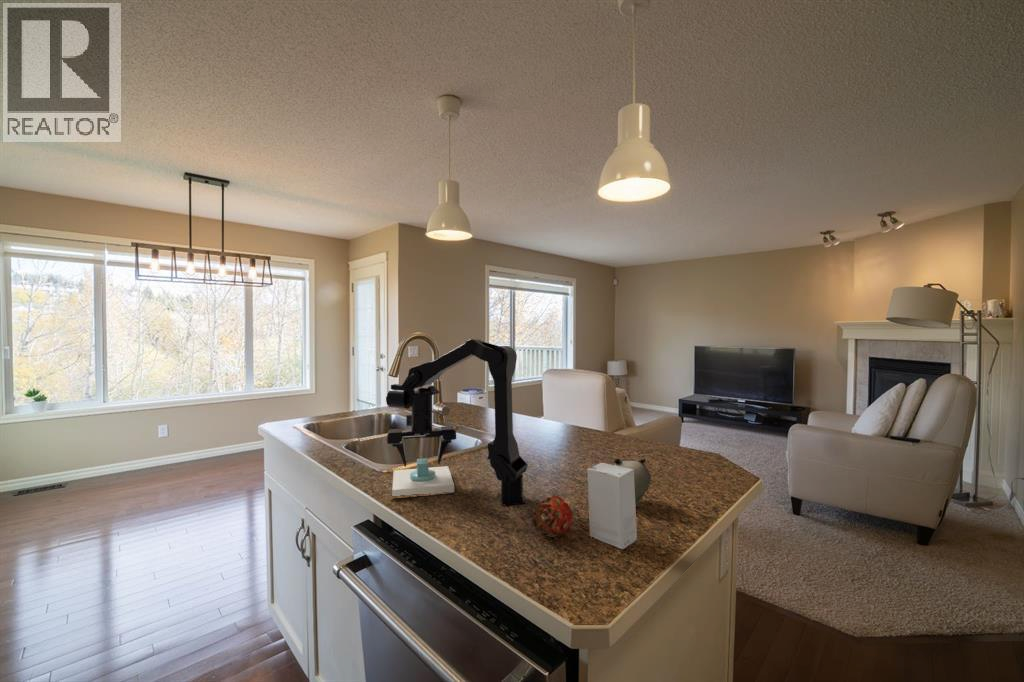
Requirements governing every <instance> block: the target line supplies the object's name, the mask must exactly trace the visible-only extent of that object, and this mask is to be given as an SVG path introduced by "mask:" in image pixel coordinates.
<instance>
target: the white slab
mask: <svg viewBox="0 0 1024 682" xmlns="http://www.w3.org/2000/svg"><path fill="white" fill-rule="evenodd" d="M428 468H429V470H433V471H435V478H433V479H432V480H428V481H413V480H411V479H410V473H411V472H413V471H416V470H417V468H409V469H408V468H406V469H396V470H393V475H392V476H393V477H392V490H391V493H392V494H391V497H392V496H400V495H412V494H429V493H442V492H454V493H455V483H454V480H453V477H452V474H451V471H450V468H449V466H448V465H447V466H435V467H428Z"/></svg>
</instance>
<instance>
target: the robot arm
mask: <svg viewBox="0 0 1024 682" xmlns="http://www.w3.org/2000/svg"><path fill="white" fill-rule="evenodd" d="M474 356H475V357H476V358H478V359H480V360H482V361H484V362H487V365H488V369H489V370H488V371H489V373H490V375H491V378H492V379H493V388H494V389H493V390H494V391H493V393H494V398H493V400H494V430H495V431H494V433H495V434H494V439H493V440H492V441H490V442H489V443H487V451H488V453H487V455H488V456H487V460H488V461H489V464H490V467H491V468H492V469H493V470H494V472H495V475H496V479H497V481H500V493H497V495H496V496H497V498H498V497H499V498H498V499H500V500H499V502H500V501H501V502H500V503H501V505H502V504H511V505H515V504H514V503H520V504H524V503H523V502H527V503H528V500H527V498H526V497H525V496H524V475H523V474H524V473H526V472H527V470H528V467H529V466H528V465H529V464H528V463H527V462H526V461H525V459H523V458H522V456H521V455H520V451H519V446H518V442H517V440H516V438H515V435H514V425H513V422H514V421H513V389H512V383H513V378H514V374H515V371H516V366H517V361H518V360H517V359H518V354H517V351H516V350H515V349H514V348H513V347H511V346H509V345H496V344H493V343H490V342H487V341H483V340H481V339H478V338H477V339H476V338H475V339H473V338H471V339H468V340H467V341H466V342H465V343H462V344H461V345H459V346H456V347H455V348H454V349H452V350H450V351H448V352H447V353H445V354H443V355H441V356H439V357H438V358H436V359H434V360H431V361H428V362H427V361H426V362H424V363H420V364H418V365H414V366H412V367H411V368H409V370H408V374H407V377H406V378H405V379H404V382H402V384H400V383H395V384H391V385H390V389H389V390H388V391H387V393H386V397H385V401H386V402H385V403H386V405H387V406H388V407H389V408H392V409H403V410H406V409H408V410H409V409H411V414H410V415H406V426H405V427H407V428H411V431H403V429H402V428H391V429H388V431H387V434H386V435H387V436H386V438H387V439H386V440H387V441H386V443H387V444H389V445H390V444H391V446H392V447H396V449H397V451H398V452H399V455H400V457H401V460H402V463H403V466H404V467H405V468H406V467H407V458H406V451H405V443H404V442H405V441H404V440H407V439H421V438H422V439H423V438H424V439H425V438H426V439H427V438H438V437H439V439H438V441H439V443H438V451H437V464H438V465H440V464H441V460H442V459H443V455H444V452H445V450H446V448H447V446H448V444H451V443H452V441H453V440H457V430H456V428H455V427H454V426H453V425H447V426H440V429H433V395H434V396H435V395H438V394H440V390H438V389H437V388H436V387H435V385H432V384H434V382H436V381H437V380H438V379H440V377H441V376H442V375H443V374H444V373H445V372H447V371H448V370H450V369H452V368H454V367H456V366H458V365H459V364H461V363H463V362H465V361H466V360H468V359H470V358H472V357H474ZM424 386H428V387H424ZM415 389H417V390H415Z"/></svg>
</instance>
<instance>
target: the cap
mask: <svg viewBox="0 0 1024 682" xmlns="http://www.w3.org/2000/svg"><path fill="white" fill-rule="evenodd" d="M429 468H430V467H429V459H428V457H427V458H417V459H416V469H417V470H416V471H413V472H411V473H410V479H411V480H413V481H428V480H431V479H433V478H435V471H433V470H429Z"/></svg>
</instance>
